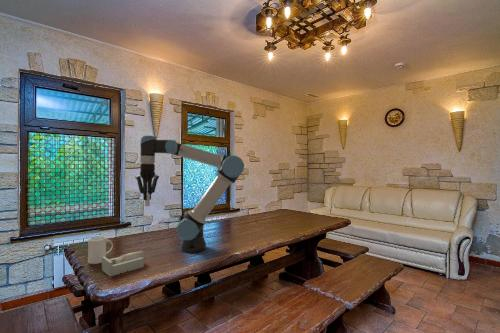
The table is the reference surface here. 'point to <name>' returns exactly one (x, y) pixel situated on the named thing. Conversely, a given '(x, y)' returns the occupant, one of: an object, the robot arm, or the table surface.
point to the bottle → (129, 257)
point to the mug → (97, 249)
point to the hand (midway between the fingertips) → (147, 205)
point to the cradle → (120, 265)
